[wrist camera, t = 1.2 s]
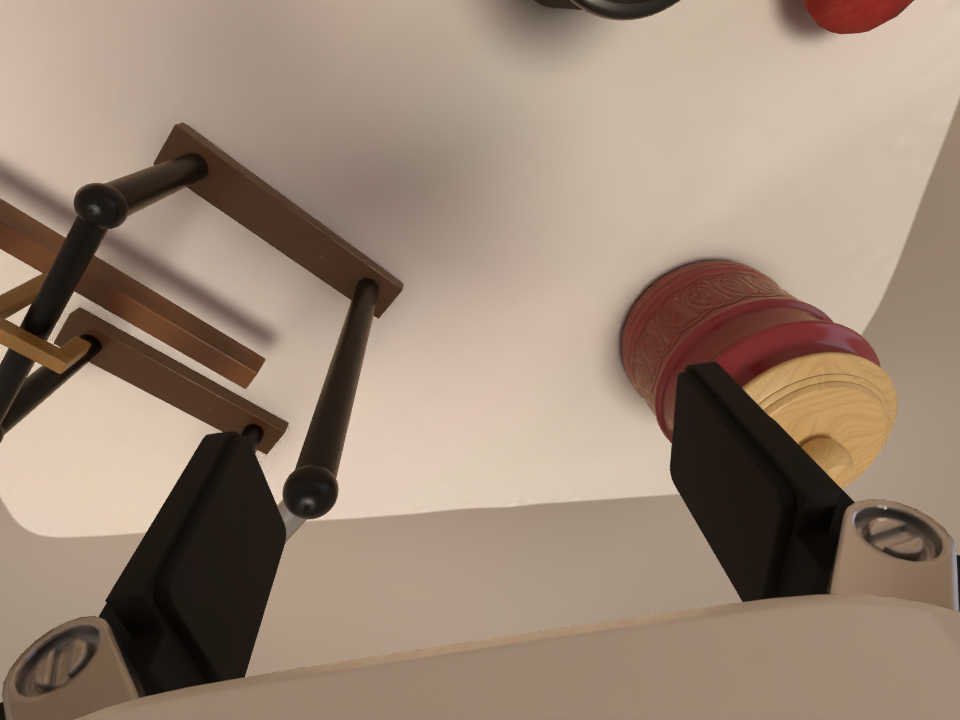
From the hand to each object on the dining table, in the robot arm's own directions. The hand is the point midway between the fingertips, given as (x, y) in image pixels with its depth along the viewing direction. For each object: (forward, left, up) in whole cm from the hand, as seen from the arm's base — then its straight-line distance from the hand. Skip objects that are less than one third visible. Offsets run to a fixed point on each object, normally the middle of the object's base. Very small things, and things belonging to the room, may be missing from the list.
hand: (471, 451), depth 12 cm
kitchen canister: (+23, +4, -28) cm, 37 cm away
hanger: (-13, -17, -23) cm, 31 cm away
